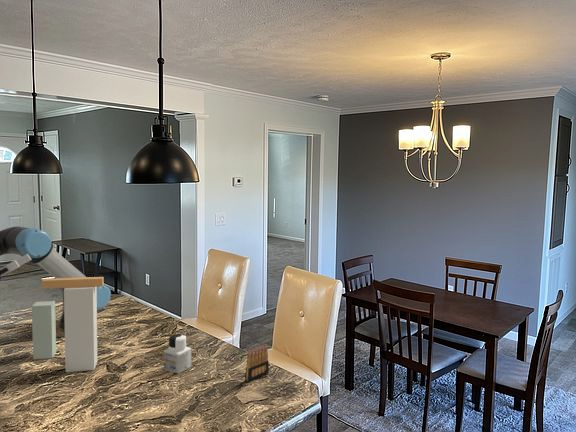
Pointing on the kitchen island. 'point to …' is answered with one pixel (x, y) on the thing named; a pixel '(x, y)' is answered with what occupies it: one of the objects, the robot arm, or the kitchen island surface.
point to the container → (177, 354)
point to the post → (80, 328)
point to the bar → (72, 282)
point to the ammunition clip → (257, 363)
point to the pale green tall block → (44, 330)
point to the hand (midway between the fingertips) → (23, 260)
